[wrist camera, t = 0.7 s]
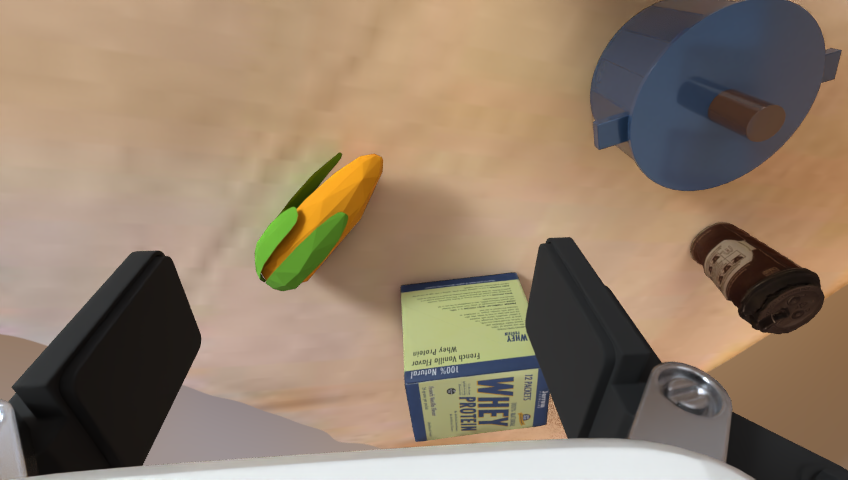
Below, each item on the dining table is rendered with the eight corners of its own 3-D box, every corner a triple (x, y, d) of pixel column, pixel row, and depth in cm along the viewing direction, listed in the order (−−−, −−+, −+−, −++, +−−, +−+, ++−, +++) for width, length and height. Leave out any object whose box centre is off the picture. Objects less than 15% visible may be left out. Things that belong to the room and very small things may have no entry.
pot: (556, 35, 40) (596, 53, 32) (776, -38, 38) (873, -37, 30) (570, 171, 48) (605, 210, 40) (752, 117, 46) (824, 147, 38)
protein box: (397, 284, 55) (402, 385, 42) (516, 270, 55) (558, 365, 42) (407, 340, 61) (413, 444, 48) (514, 327, 61) (550, 426, 48)
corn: (228, 290, 43) (344, 147, 36) (243, 245, 49) (346, 115, 42) (292, 318, 47) (410, 194, 39) (299, 273, 53) (402, 158, 46)
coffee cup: (668, 268, 57) (735, 340, 46) (692, 215, 52) (772, 281, 42) (729, 267, 58) (808, 338, 47) (757, 214, 53) (853, 279, 42)
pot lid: (621, 35, 32) (662, 48, 28) (835, -34, 31) (916, -33, 26) (625, 205, 41) (657, 237, 36) (793, 157, 39) (848, 184, 35)
